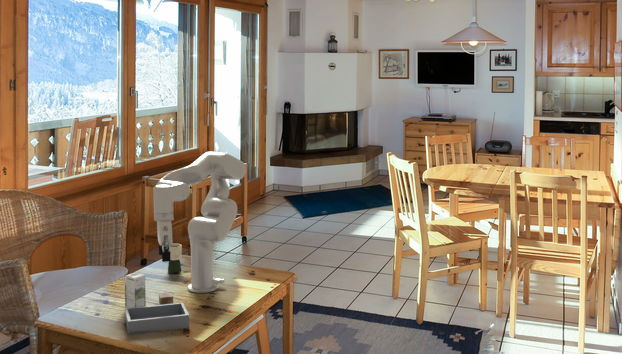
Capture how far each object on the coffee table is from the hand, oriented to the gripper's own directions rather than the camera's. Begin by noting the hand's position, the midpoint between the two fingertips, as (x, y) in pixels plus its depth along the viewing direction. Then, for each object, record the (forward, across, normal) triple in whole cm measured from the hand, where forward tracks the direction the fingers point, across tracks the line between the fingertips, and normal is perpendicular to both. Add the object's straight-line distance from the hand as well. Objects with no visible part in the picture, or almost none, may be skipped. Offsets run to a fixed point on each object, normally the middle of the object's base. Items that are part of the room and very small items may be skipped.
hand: (164, 258), depth 282 cm
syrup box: (+20, 0, +12) cm, 24 cm away
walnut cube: (+20, 0, 0) cm, 20 cm away
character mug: (+20, +45, -10) cm, 50 cm away
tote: (+20, -18, +6) cm, 28 cm away
